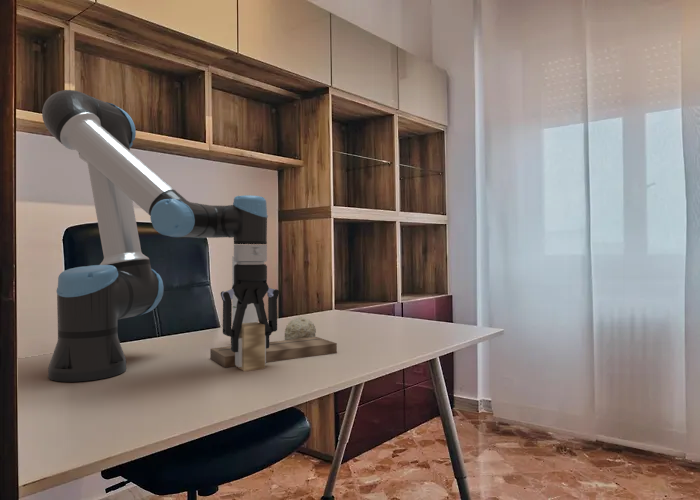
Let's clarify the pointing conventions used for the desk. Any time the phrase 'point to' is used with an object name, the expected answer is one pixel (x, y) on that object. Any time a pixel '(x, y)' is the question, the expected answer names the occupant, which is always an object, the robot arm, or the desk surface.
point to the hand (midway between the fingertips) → (250, 364)
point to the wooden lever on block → (252, 346)
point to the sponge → (299, 329)
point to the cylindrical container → (250, 310)
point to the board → (280, 350)
